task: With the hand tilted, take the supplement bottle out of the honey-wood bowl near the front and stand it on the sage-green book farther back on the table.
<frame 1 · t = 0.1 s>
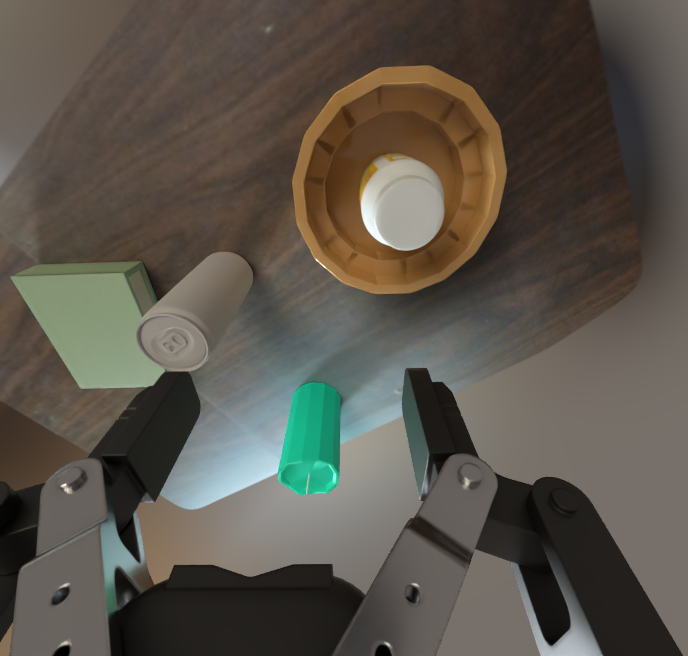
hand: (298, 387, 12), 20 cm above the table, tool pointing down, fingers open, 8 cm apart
supplement bottle: (389, 189, 26), resting on bowl
bowl: (389, 188, 26), on the table
candle: (316, 399, 39), on the table
book: (118, 321, 33), on the table
beverage can: (230, 272, 31), on the table
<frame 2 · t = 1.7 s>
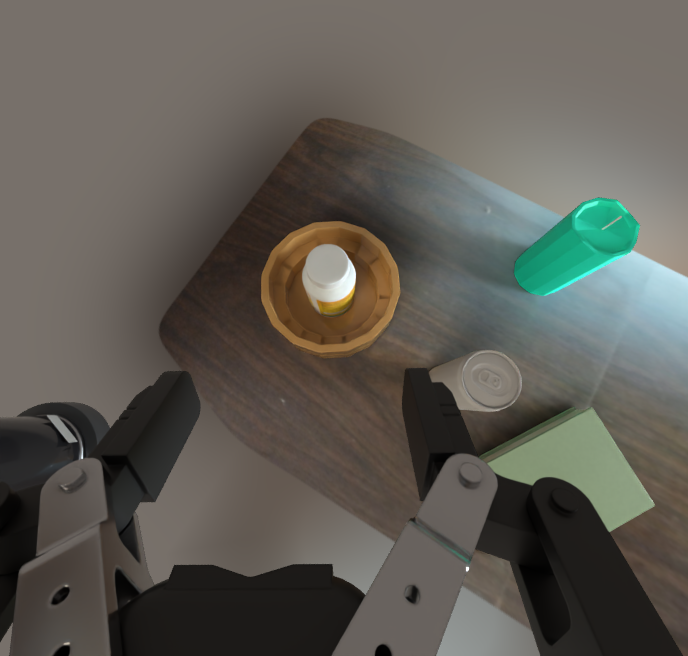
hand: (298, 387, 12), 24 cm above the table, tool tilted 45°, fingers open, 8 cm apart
supplement bottle: (332, 297, 38), resting on bowl
bowl: (332, 298, 38), on the table
candle: (537, 273, 39), on the table
book: (547, 478, 33), on the table
beverage can: (444, 386, 36), on the table
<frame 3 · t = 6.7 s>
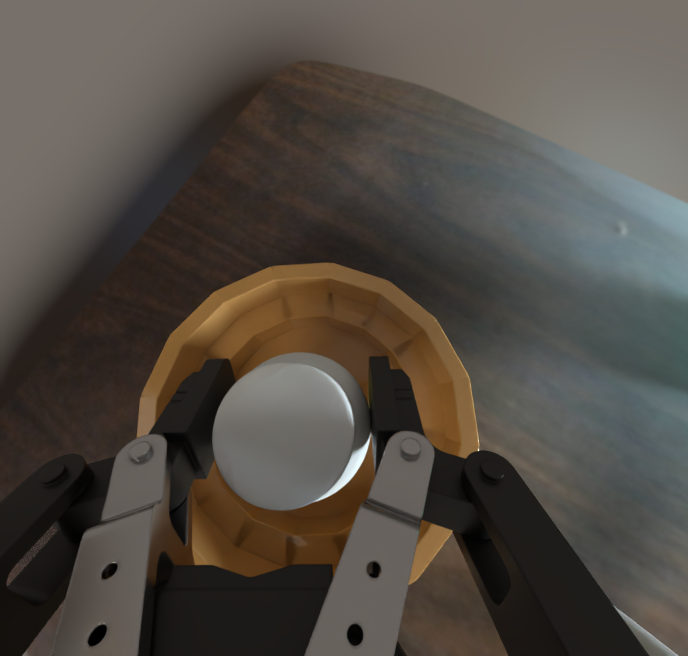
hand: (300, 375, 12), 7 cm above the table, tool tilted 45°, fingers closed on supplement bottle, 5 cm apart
supplement bottle: (316, 415, 18), resting on bowl, touching gripper
bowl: (317, 415, 18), on the table
beverage can: (565, 628, 16), on the table
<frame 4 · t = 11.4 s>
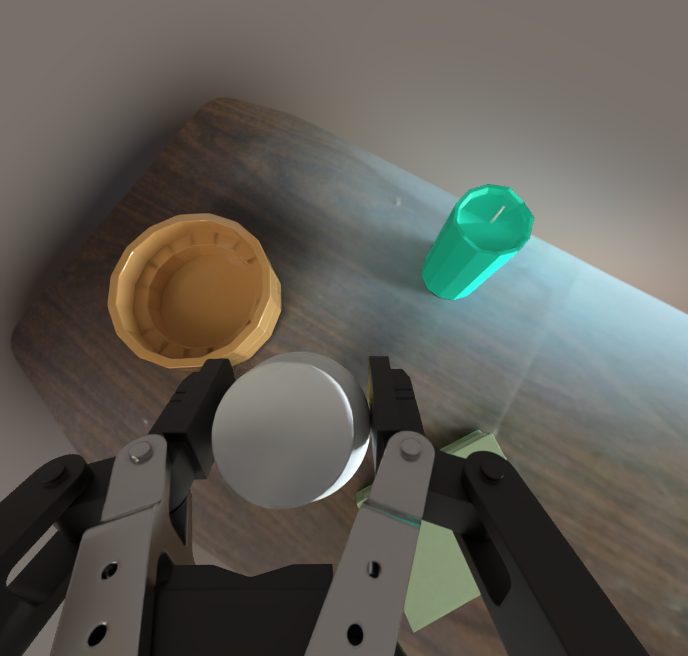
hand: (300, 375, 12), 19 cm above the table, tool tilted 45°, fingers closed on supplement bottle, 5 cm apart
supplement bottle: (316, 415, 18), point 13 cm above the table, touching gripper
bowl: (212, 302, 33), on the table
candle: (449, 273, 34), on the table
book: (444, 513, 29), on the table
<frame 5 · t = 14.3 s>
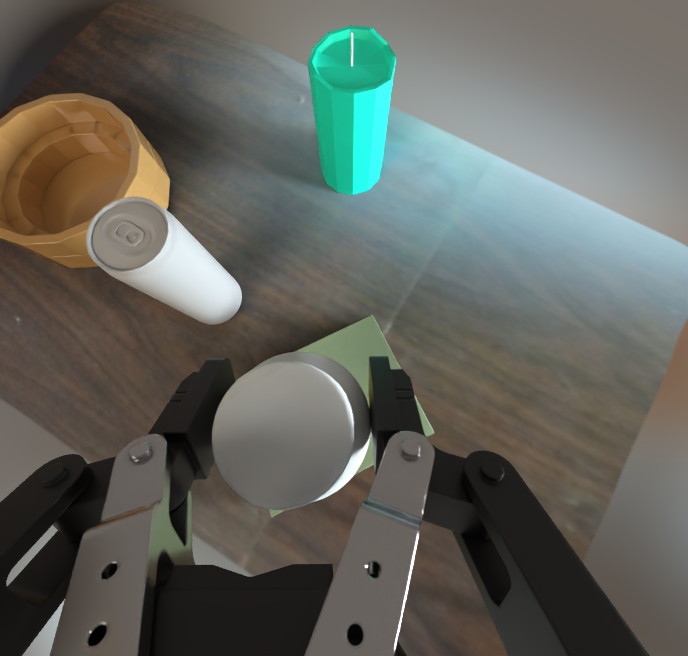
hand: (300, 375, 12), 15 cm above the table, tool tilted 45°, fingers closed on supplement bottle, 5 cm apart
supplement bottle: (316, 415, 18), point 8 cm above the table, touching gripper
bowl: (98, 200, 31), on the table
candle: (351, 169, 32), on the table
book: (327, 408, 27), on the table
beverage can: (218, 301, 29), on the table
when the fingers open (9 cm above the table, at t = 16.4 s): supplement bottle stays where it is, resting on book.
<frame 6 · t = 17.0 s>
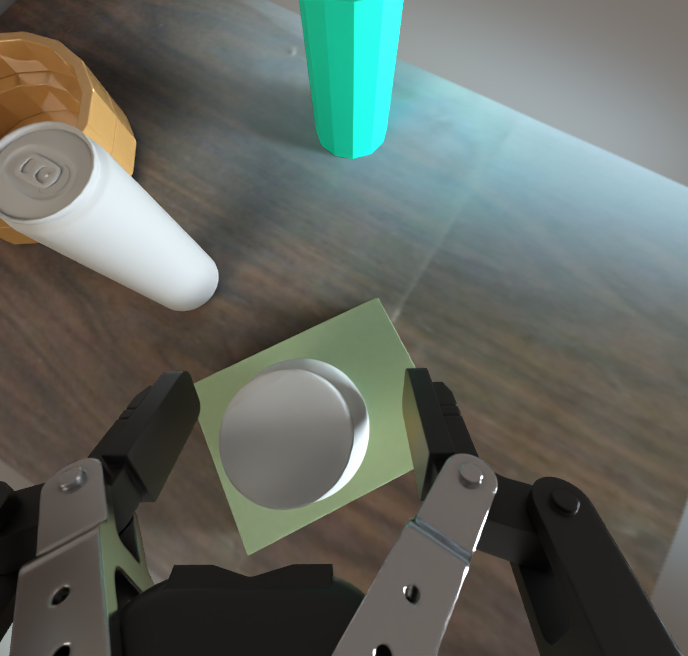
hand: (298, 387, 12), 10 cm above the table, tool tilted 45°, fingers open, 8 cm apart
supplement bottle: (317, 417, 19), point 3 cm above the table, touching book
bowl: (52, 166, 26), on the table
candle: (351, 130, 27), on the table
book: (322, 413, 22), on the table
beverage can: (191, 283, 24), on the table
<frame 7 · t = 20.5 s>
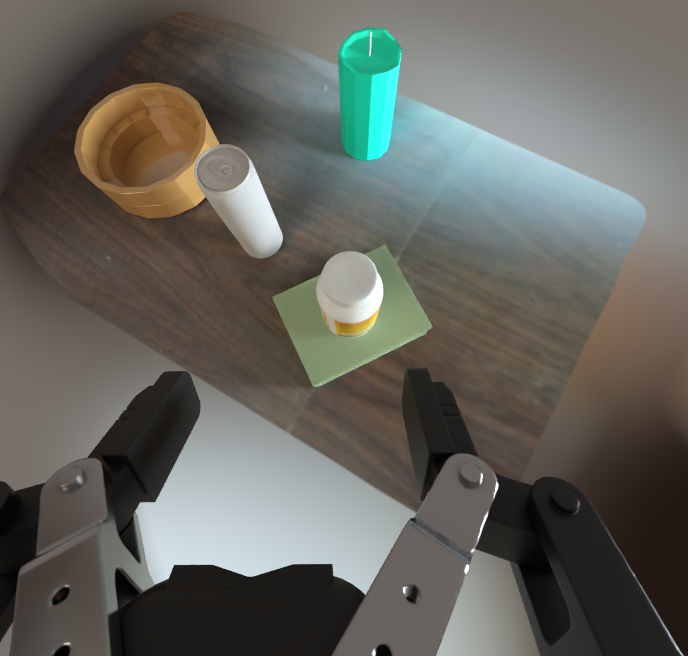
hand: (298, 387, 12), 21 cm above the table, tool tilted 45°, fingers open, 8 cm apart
supplement bottle: (350, 313, 32), point 3 cm above the table, touching book
bowl: (166, 168, 40), on the table
candle: (365, 141, 40), on the table
book: (351, 319, 35), on the table
beverage can: (263, 242, 37), on the table
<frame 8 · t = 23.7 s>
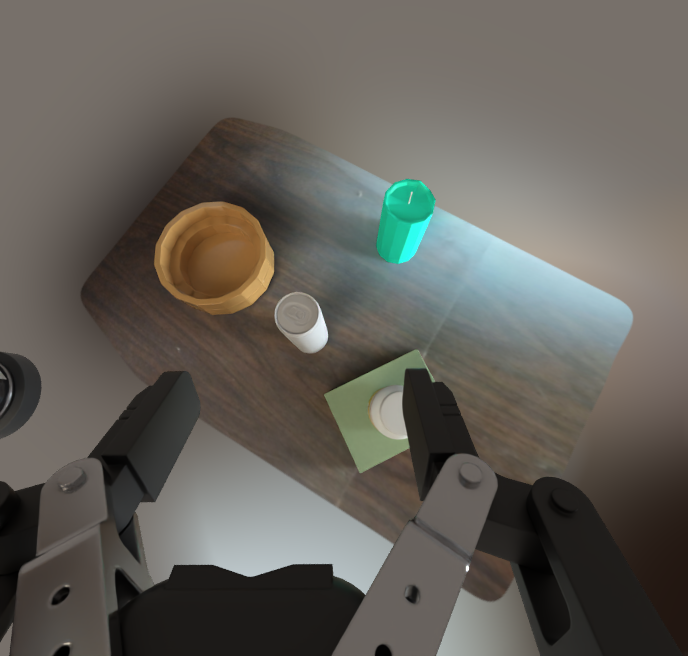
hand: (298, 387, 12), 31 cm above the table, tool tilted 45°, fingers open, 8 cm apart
supplement bottle: (389, 409, 39), point 3 cm above the table, touching book
bowl: (225, 266, 46), on the table
candle: (396, 245, 47), on the table
book: (386, 407, 41), on the table
beverage can: (311, 336, 44), on the table
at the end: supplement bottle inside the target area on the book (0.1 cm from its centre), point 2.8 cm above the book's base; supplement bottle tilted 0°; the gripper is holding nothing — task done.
